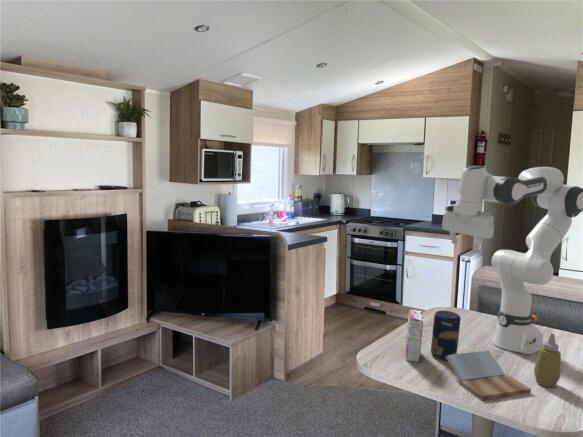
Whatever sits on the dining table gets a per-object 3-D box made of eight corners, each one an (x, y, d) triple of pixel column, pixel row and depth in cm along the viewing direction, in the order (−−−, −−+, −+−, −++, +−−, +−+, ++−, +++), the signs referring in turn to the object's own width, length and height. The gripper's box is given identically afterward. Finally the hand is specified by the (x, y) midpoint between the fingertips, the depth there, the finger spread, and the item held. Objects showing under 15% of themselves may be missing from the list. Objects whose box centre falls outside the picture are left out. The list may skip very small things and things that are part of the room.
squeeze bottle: (527, 377, 167) (534, 329, 165) (549, 378, 168) (556, 329, 165) (541, 389, 159) (548, 338, 157) (563, 389, 160) (571, 339, 158)
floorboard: (507, 378, 166) (507, 374, 165) (530, 393, 156) (530, 388, 156) (460, 385, 159) (461, 381, 158) (481, 400, 149) (482, 396, 149)
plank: (486, 353, 173) (488, 350, 172) (503, 376, 166) (505, 374, 165) (446, 357, 167) (448, 355, 166) (461, 382, 160) (463, 379, 159)
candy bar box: (404, 349, 186) (408, 309, 183) (417, 350, 185) (422, 310, 183) (405, 361, 175) (409, 318, 173) (419, 363, 174) (424, 320, 172)
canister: (456, 353, 184) (461, 309, 182) (456, 363, 175) (461, 317, 173) (430, 349, 187) (435, 305, 185) (429, 358, 178) (434, 312, 176)
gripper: (499, 213, 168) (494, 251, 170) (452, 205, 185) (448, 240, 187) (488, 213, 165) (484, 252, 166) (441, 206, 181) (437, 241, 183)
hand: (464, 246), depth 177 cm, fingers open, 8 cm apart
